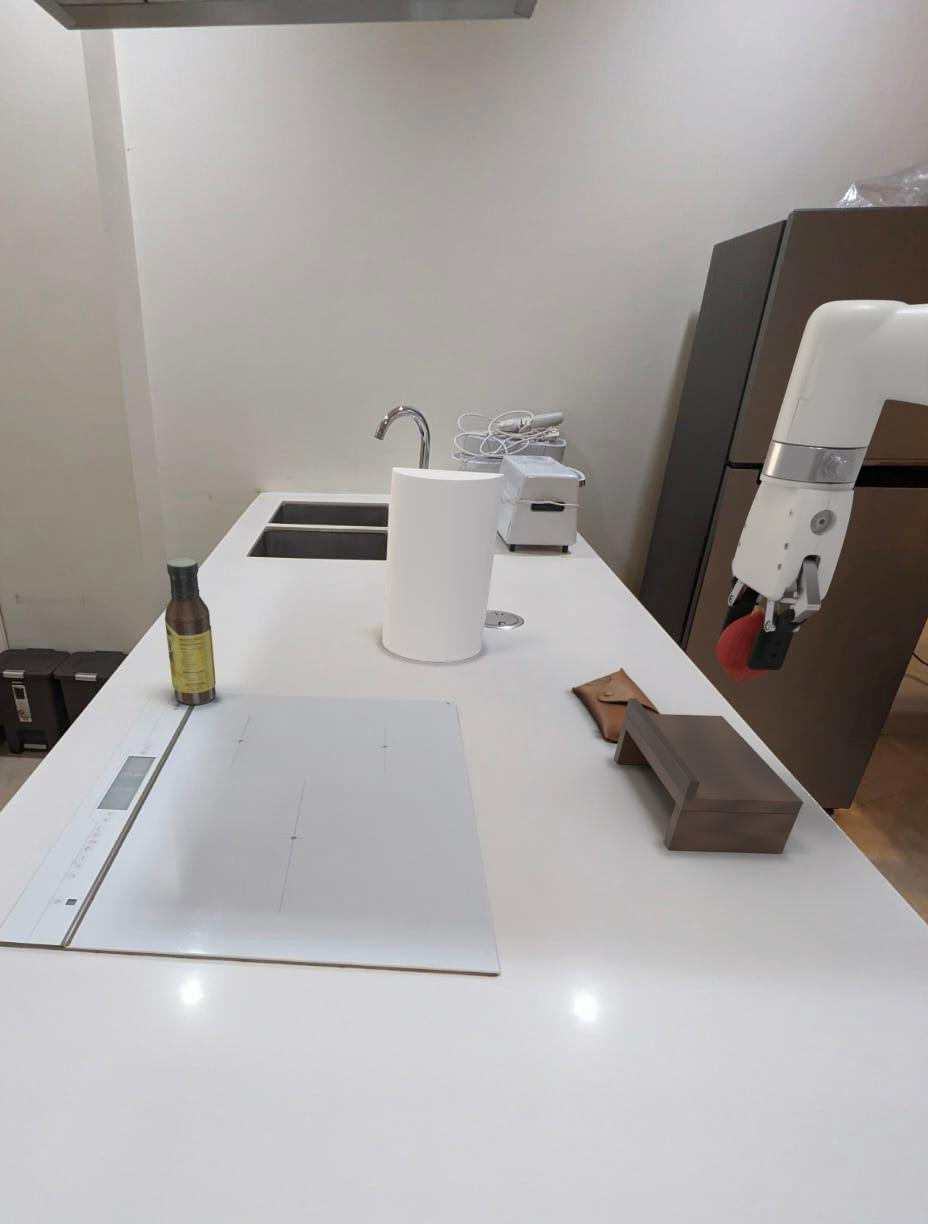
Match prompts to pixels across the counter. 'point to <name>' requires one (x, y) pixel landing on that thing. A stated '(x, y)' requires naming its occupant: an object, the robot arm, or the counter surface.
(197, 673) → the sauce bottle
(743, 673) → the onion
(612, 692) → the sunglasses case
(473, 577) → the cylinder
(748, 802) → the shelf
